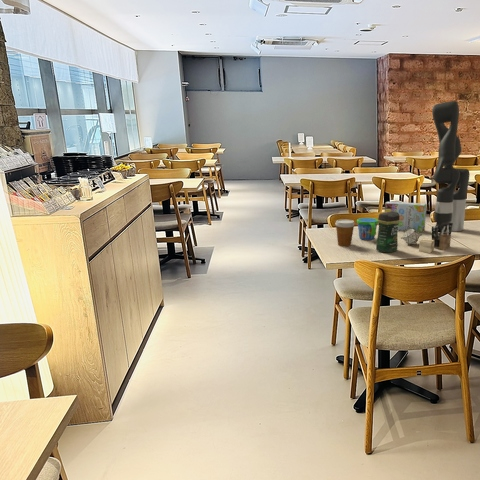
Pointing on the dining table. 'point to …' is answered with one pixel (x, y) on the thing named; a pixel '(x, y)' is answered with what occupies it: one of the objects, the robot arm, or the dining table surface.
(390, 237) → the coffee jar
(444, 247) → the walnut block
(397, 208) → the snack box
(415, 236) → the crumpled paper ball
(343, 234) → the disposable coffee cup
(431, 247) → the maple block
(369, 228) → the snack cup
